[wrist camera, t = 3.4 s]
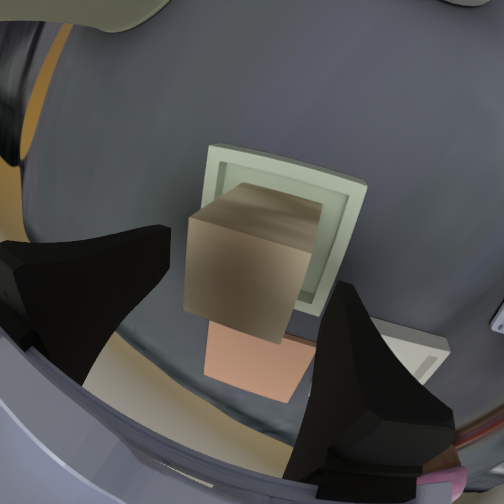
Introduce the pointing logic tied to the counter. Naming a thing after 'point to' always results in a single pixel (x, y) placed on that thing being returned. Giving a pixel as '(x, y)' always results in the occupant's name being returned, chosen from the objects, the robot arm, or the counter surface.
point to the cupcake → (445, 471)
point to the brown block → (249, 259)
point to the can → (83, 12)
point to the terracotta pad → (257, 361)
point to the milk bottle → (468, 2)
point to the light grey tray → (414, 348)
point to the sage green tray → (302, 185)
